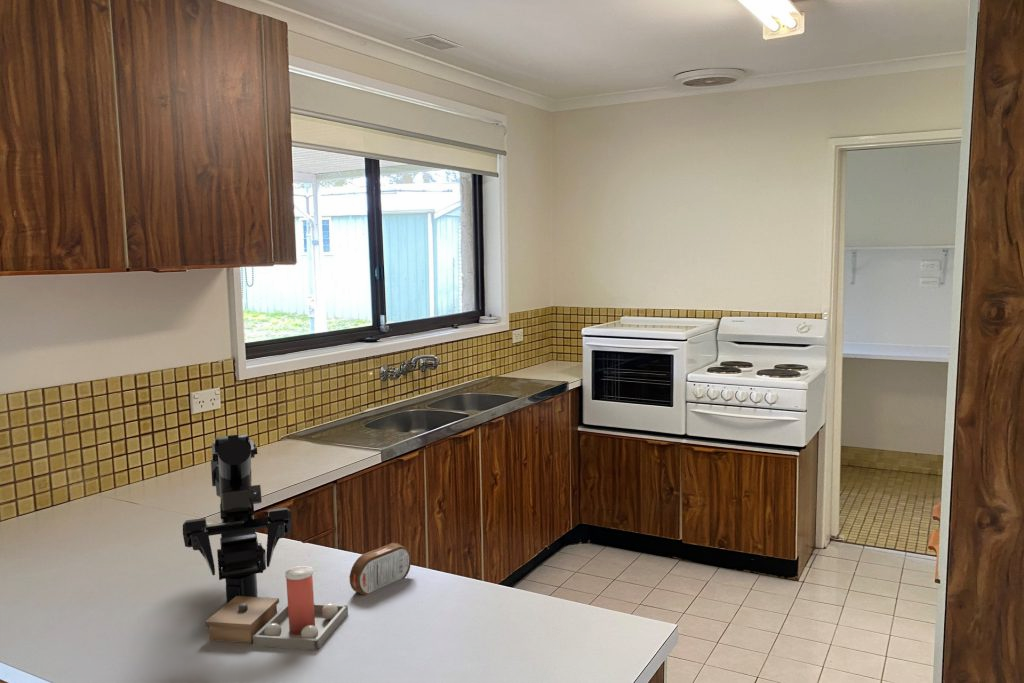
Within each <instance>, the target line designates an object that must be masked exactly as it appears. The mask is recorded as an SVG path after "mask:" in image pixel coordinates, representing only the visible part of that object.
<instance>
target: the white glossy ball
mask: <svg viewBox="0 0 1024 683" xmlns="http://www.w3.org/2000/svg"><path fill="white" fill-rule="evenodd" d="M317 636H318V630H317V628H316V627H315V626H313V625H308V626H305V627H304V628H303V629H302V631H301V638H311V639H315V638H316V637H317Z"/></svg>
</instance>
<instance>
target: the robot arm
mask: <svg viewBox="0 0 1024 683" xmlns="http://www.w3.org/2000/svg"><path fill="white" fill-rule="evenodd" d="M249 438H250V437H249V435H248V434H247V433H246V434H229V435H227V436H225V435H224V436H220V437H219V436H218V437H215V439H214V440H215V441H214V443H211V454H212V455H211V457H212V458H211V459H210V470H211V471H210V472H211V485H212V487H215V495H216V496H217V497H219V499H220V504H219V511H220V512H219V514H220V520H221V523H213V524H212V523H211V524H207V517H202V518H195V519H187V520H184V522H183V523H182V536H183V543H184V546H185V547H186V548H192V551H199V553H200V554H201V555H202V556H203V558H204V560H205V561H206V564H207V566H208V568H209V571H210V573H211V574H212V576H215V575H216V569H215V568H216V567H215V561H214V556H213V550H212V546H211V540H210V537H211V536H217V535H220V539H219V541H220V542H219V545H220V548H219V549H218V548H217V549H216V552H217V556H216V557H217V565H218V566H217V567H218V569H217V570H218V580H219V581H222V580H224V579H225V596H226V597H225V598H226V604H227V603H228V602H230V601H231V600H232V599H233V598H235V597H236V596H246V597H258V593H259V592H258V581H257V580H258V579H257V574H263V573H264V571H265V570H267V568H269V567H270V565H271V562H272V560H273V559H272V558H273V555H274V551H275V549H276V547H277V544H278V542H279V540H280V539H284V538H285V535H286V534H290V533H292V513H291V512H292V511H291V510H290V509H289V508H288V507H287V506H286V507H280V508H273V509H271V508H270V509H268V512H267V513H268V516H265V517H259V518H258V517H257V518H255V506H254V505H258V504H262V490H261V484H255V485H253V484H252V459H254V458H256V457H255V456H256V455H258V448H257V445H256V443H254V440H253V439H249ZM260 529H267V537H266V538H267V540H266V549H265V548H264V547H263V545H262V542H259V541H258V535H257V532H256V530H260Z"/></svg>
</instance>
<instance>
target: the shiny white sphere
mask: <svg viewBox="0 0 1024 683" xmlns="http://www.w3.org/2000/svg"><path fill="white" fill-rule="evenodd" d="M281 632H282V630H281V627H280V625H279V624H277V623H270V624H268V625H267V626H266V628H265V630H264V635H265V636H280V635H281Z"/></svg>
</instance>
